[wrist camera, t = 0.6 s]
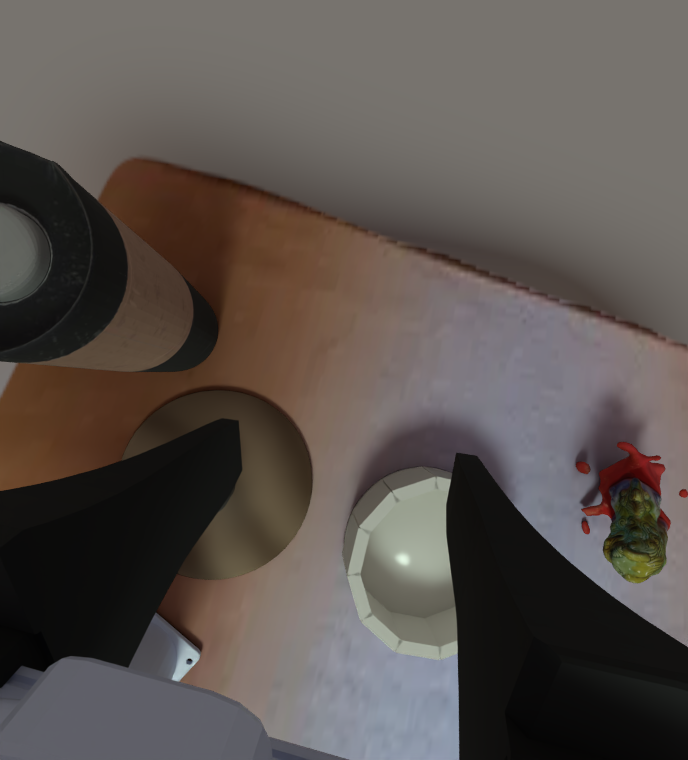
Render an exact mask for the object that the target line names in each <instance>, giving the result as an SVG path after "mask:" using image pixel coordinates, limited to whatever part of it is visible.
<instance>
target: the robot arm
mask: <svg viewBox="0 0 688 760" xmlns="http://www.w3.org/2000/svg"><path fill="white" fill-rule="evenodd" d="M241 472H242V457H241V444H240V430H239V421H238V420H232V419H225V418H221V419H218V420H216V421H213V422H211V423H208V424H206V425H204V426H202V427H200V428H197V429H195V430H193V431H191V432H189V433H187V434H184V435H182V436H180V437H178V438H176V439H174V440H171V441H169V442H167V443H165V444H162V445H160V446H157V447H155V448H153V449H150V450H148V451H146V452H143V453H141V454H138V455H136V456H133V457H131V458H128V459H125V460H122V461H120V462H117V463H114V464H111V465H108V466H105V467H102V468H98V469H95V470H92V471H88V472H84V473H81V474H77V475H73V476H70V477H66V478H62V479H58V480H54V481H50V482H45V483H41V484H36V485H31V486H26V487H21V488H16V489H10V490H4V491H0V760H348V759H345V758H341V757H338V756H334V755H331V754H327V753H324V752H320V751H317V750H313V749H310V748H306V747H303V746H299V745H296V744H293V743H289V742H286V741H282V740H279V739H275V738H272V737H268V735H267V733H266V731H265V729H264V726H263V724H262V722H261V720H260V719H259V718H258V717H256V716H255V715H254V714H253V713H252V712H250V711H249V710H248V709H247V708H246V707H244V706H243V705H242V704H241V703H239V702H237V701H235V700H232V699H230V698H228V697H225V696H223V695H221V694H218V693H216V692H214V691H211V690H207V689H203V688H200V687H196V686H193V685H189V684H185V683H182V682H179V681H180V680H181V679H182V677H183V676H184V675H185V674H186V673H187V672H188V671H189V670H190V669H191V668H192V667H193V665H194V664H195V663H196V662H197V661H198V660H199V658H200V656H201V652H200V650H199V649H198V648H197V647H196V646H195V645H193V644H192V643H191V642H190V641H189V640H188V639H186V638H185V637H184V636H183V635H182V634H181V633H179V632H178V631H177V630H176V629H175V628H174V627H172V626H171V625H170V624H169V623H168V622H167V621H165V620H164V619H163V618H162V617H161V616H160V615H158V614H157V613H156V611H157V609H158V607H159V605H160V604H161V602H162V600H163V598H164V596H165V594H166V592H167V590H168V589H169V587H170V585H171V583H172V582H173V580H174V578H175V576H176V574H177V573H178V571H179V569H180V567H181V566H182V564H183V562H184V561H185V559H186V557H187V556H188V554H189V553H190V551H191V550H192V548H193V547H194V545H195V544H196V543H197V541H198V540H199V538H200V537H201V536H202V534H203V533H204V531H205V530H206V528H207V527H208V526H209V524H210V523H211V521H212V520H213V519H214V517H215V516H216V514H217V513H218V511H219V510H220V509H221V507H222V506H223V504H224V503H225V501H226V500H227V498H228V497H229V495H230V494H231V492H232V490H233V488H234V486H235V484H236V482H237V480H238V478H239V476H240V474H241ZM446 537H447V545H448V553H449V561H450V569H451V576H452V584H453V592H454V599H455V608H456V619H457V645H458V684H459V760H688V647H687V646H685V645H684V644H682V643H680V642H679V641H677V640H676V639H674V638H673V637H671V636H670V635H668V634H666V633H665V632H663V631H662V630H660V629H659V628H657V627H656V626H654V625H653V624H651V623H649V622H648V621H646V620H645V619H643V618H642V617H640V616H639V615H638V614H636V613H635V612H633V611H632V610H631V609H629V608H628V607H626V606H625V605H624V604H622V603H621V602H620V601H618V600H617V599H615V598H614V597H613V596H611V595H610V594H609V593H607V592H606V591H605V590H603V589H602V588H601V587H600V586H598V585H597V584H596V583H594V582H593V581H592V580H591V579H589V578H588V577H587V576H586V575H585V574H583V573H582V572H581V571H580V570H579V569H577V568H576V567H575V566H574V565H573V564H571V563H570V562H569V561H568V560H567V559H566V558H565V557H564V556H562V555H561V554H560V553H559V552H558V551H557V550H556V549H555V548H554V547H553V546H552V545H551V544H550V543H549V542H548V541H547V540H546V539H544V538H543V537H542V536H541V535H540V534H539V533H538V532H537V531H536V530H535V528H534V527H533V526H532V525H531V524H530V523H529V522H528V521H527V520H526V519H525V518H524V516H523V515H522V514H521V513H520V512H519V511H518V510H517V508H516V507H515V506H514V505H513V504H512V502H511V501H510V500H509V499H508V497H507V496H506V495H505V493H504V492H503V491H502V490H501V488H500V487H499V486H498V484H497V483H496V482H495V480H494V479H493V477H492V476H491V475H490V473H489V472H488V470H487V469H486V468H485V466H484V465H483V463H482V462H481V461H480V459H479V458H478V457H477V456H475V455H468V454H461V453H456V457H455V462H454V467H453V472H452V477H451V482H450V487H449V492H448V497H447V502H446ZM189 658H190V659H192V660H193V661H188V659H189Z"/></svg>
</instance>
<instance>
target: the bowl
mask: <svg viewBox="0 0 688 760" xmlns="http://www.w3.org/2000/svg"><path fill="white" fill-rule="evenodd" d="M451 477H452V473H450V472H447V471H444V470H441V469H437V468H431V467H423V466H422V467H421V466H420V467H413V468H407V469H403V470H399V471H397V472H394V473H391V474H389V475H387V476H386V477H384V478H382V479H380V480H379V481H378V482H376V483H375V484H374V485H372V486H371V487H370V488H369V489H368V490H367V491H366V492H365V493H364V495H363V496H362V497H361V498H360V500H359V501H358V503H357V504H356V506H355V507H354V509H353V511H352V513H351V516H350V518H349V521H348V524H347V527H346V531H345V537H344V547H343V551H342V556H343V560H344V564H345V569H346V573H347V577H348V580H349V584H350V587H351V591H352V594H353V597H354V601H355V604H356V608H357V611H358V615H359V618H360V620H361V622H362V623H363V624H364V625H365V626H366V627H367V628H368V629H369V630H371V631H372V632H373V633H374V634H375V635H376V636H377V637H378V638H379V639H381V640H382V641H383V642H384V643H385V644H386V645H387V646H388V647H389V648H390V649H392V650H393V651H395V652H396V653H401V654H407V655H413V656H419V657H424V658H430V659H436V660H439V659H441V660H442V659H444V658H447V657H450V656H452V655H455V654H457V653H458V645H457V619H456V608H455V599H454V592H453V584H452V576H451V569H450V561H449V553H448V545H447V537H446V502H447V497H448V492H449V487H450V482H451Z"/></svg>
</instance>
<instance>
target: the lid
mask: <svg viewBox="0 0 688 760" xmlns="http://www.w3.org/2000/svg"><path fill="white" fill-rule="evenodd" d="M221 418H225V419H232V420H238V421H239V430H240V444H241V457H242V472H241V474H240V476H239V478H238V480H237V482H236V484H235V486H234V488H233V490H232V492H231V494H230V495H229V497H228V498H227V500H226V501H225V503H224V504H223V506H222V507H221V509H220V510H219V511H218V513H217V514H216V516H215V517H214V519H213V520H212V521H211V523H210V524H209V526H208V527H207V528H206V530H205V531H204V533H203V534H202V536H201V537H200V538H199V540H198V541H197V543H196V544H195V545H194V547H193V548H192V550H191V551H190V553H189V554H188V556H187V557H186V559H185V561H184V562H183V564H182V566H181V567H180V569H179V571H178V573H177V574H180V575H183V576H187V577H191V578H197V579H205V580H216V579H226V578H232V577H236V576H240V575H243V574H246V573H249V572H251V571H253V570H256V569H258V568H259V567H261V566H263V565H265V564H267V563H268V562H269V561H271V560H272V559H273V558H275V557H276V556H277V555H278V554H279V553H280V552H282V551H283V550H284V549H285V548H286V547H287V545H288V544H289V543H290V542H291V541H292V539H293V538H294V537H295V535H296V534H297V532H298V530H299V529H300V527H301V525H302V523H303V521H304V519H305V516H306V513H307V510H308V507H309V504H310V498H311V493H312V473H311V465H310V461H309V456H308V453H307V450H306V448H305V445H304V443H303V441H302V439H301V437H300V435H299V433H298V432H297V431H296V429H295V428H294V426H293V425H292V424H291V423H290V422H289V421H288V419H287V418H286V417H285V416H284V415H283V414H281V413H280V412H279V411H278V410H276V409H275V408H274V407H272V406H271V405H269V404H267V403H266V402H264V401H262V400H260V399H258V398H255V397H253V396H250V395H247V394H244V393H239V392H234V391H223V390H213V391H202V392H198V393H193V394H189V395H186V396H183V397H181V398H178V399H176V400H174V401H172V402H170V403H168V404H166V405H165V406H163V407H162V408H160V409H159V410H157V411H156V412H154V413H153V414H152V415H151V416H150V417H149V418H148V419H146V420H145V422H144V423H143V424H142V425H141V426H140V427H139V428H138V430H137V431H136V432H135V434H134V435H133V437H132V438H131V440H130V442H129V444H128V446H127V448H126V450H125V452H124V454H123V457H122V460H125V459H128V458H131V457H133V456H136V455H138V454H141V453H143V452H146V451H148V450H150V449H153V448H155V447H157V446H160V445H162V444H165V443H167V442H169V441H171V440H174V439H176V438H178V437H180V436H182V435H184V434H187V433H189V432H191V431H193V430H195V429H197V428H200V427H202V426H204V425H206V424H208V423H211V422H213V421H216V420H218V419H221ZM122 460H121V461H122Z"/></svg>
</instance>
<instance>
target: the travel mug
mask: <svg viewBox="0 0 688 760" xmlns="http://www.w3.org/2000/svg"><path fill="white" fill-rule="evenodd" d="M217 336H218V324H217V319H216V316H215V314H214V311H213V310H212V308H211V306H210V305H209V304H208V302H207V301H206V300H205V299H204V298H203V297H202V296H201V295H200V294H199V293H198V292H197V291H196V290H195V288H194V287H193V286H192V285H191V284H190V283H189V282H188V281H187V280H186V279H185V278H184V277H183V276H182V275H181V274H180V273H179V272H178V271H177V270H176V269H175V268H174V267H173V266H172V265H171V264H170V263H169V262H168V261H166V260H165V259H164V258H163V257H162V256H161V255H160V254H158V253H157V252H156V251H155V250H154V249H153V248H152V247H150V246H149V245H148V244H147V243H146V242H145V241H144V240H142V239H141V238H140V237H139V236H138V235H137V234H135V233H134V232H133V231H132V230H131V229H130V228H129V227H127V226H126V225H125V224H124V223H123V222H122V221H121V220H119V219H118V218H117V217H116V216H115V215H114V214H113V213H111V212H110V211H109V210H108V209H107V208H106V207H104V206H103V205H102V204H101V203H100V202H99V201H98V200H96V199H95V198H94V197H93V196H92V195H91V194H90V193H88V192H87V191H86V190H85V189H84V188H83V187H81V186H80V185H79V184H78V183H77V182H76V181H75V180H74V179H72V178H71V176H70V175H69V174H68V173H67V172H66V171H64V169H63V168H62V167H61V166H60V165H58V164H57V163H55V162H54V161H50V160H47V159H45V158H42V157H40V156H38V155H35V154H33V153H31V152H28V151H25V150H22V149H20V148H16V147H14V146H12V145H9V144H6V143H4V142H2V141H0V361H4V362H15V363H27V364H39V365H51V366H63V367H75V368H86V369H98V370H110V371H122V372H175V371H183V370H187V369H190V368H193V367H195V366H197V365H199V364H200V363H201V362H203V361H204V360H205V359H206V358H207V357H208V356H209V355H210V353H211V352H212V350H213V348H214V346H215V344H216V341H217Z"/></svg>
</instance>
